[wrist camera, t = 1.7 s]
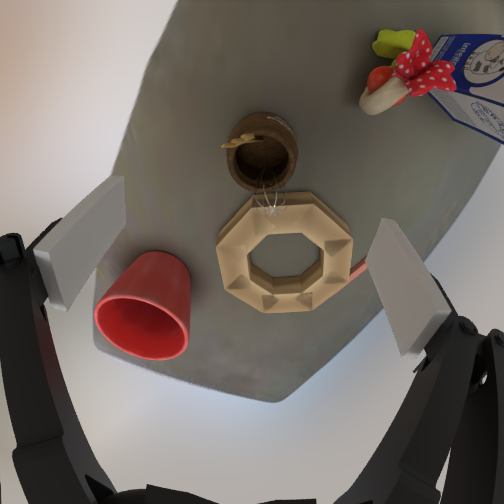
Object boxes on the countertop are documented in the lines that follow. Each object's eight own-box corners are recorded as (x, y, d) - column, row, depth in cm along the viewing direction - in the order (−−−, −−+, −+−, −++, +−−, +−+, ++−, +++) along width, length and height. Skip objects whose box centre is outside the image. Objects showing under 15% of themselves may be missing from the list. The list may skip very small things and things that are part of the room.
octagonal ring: (279, 166, 28) (280, 176, 26) (368, 244, 33) (376, 260, 30) (199, 254, 35) (194, 270, 32) (287, 310, 39) (288, 327, 37)
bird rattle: (386, 109, 26) (444, 57, 19) (399, 172, 20) (488, 104, 12) (340, 70, 24) (397, 11, 17) (336, 119, 18) (427, 32, 11)
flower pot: (212, 302, 39) (200, 362, 31) (140, 305, 41) (119, 359, 33) (191, 235, 33) (168, 293, 25) (111, 245, 35) (77, 297, 27)
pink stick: (386, 239, 32) (388, 242, 32) (390, 243, 33) (392, 246, 32) (326, 289, 37) (327, 293, 36) (330, 292, 37) (331, 296, 37)
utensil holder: (249, 179, 29) (239, 246, 19) (218, 125, 26) (187, 163, 16) (304, 155, 27) (325, 211, 18) (275, 97, 24) (281, 116, 15)
